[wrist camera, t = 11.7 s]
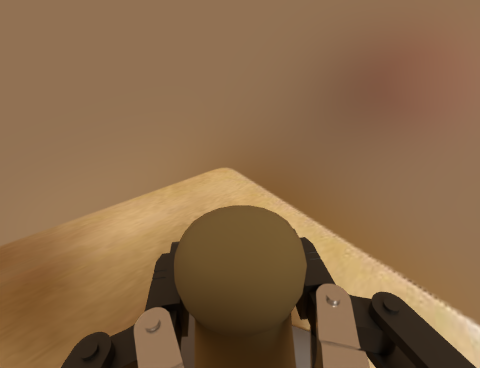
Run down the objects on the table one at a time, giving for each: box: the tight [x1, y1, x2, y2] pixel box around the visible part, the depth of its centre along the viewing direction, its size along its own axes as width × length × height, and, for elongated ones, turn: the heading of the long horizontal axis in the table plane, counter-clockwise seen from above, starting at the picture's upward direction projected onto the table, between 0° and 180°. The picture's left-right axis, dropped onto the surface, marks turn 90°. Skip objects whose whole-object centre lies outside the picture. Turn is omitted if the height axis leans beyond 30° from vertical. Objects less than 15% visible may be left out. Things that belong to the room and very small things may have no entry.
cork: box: [174, 205, 307, 368], centre depth 12 cm, size 6×6×11 cm
